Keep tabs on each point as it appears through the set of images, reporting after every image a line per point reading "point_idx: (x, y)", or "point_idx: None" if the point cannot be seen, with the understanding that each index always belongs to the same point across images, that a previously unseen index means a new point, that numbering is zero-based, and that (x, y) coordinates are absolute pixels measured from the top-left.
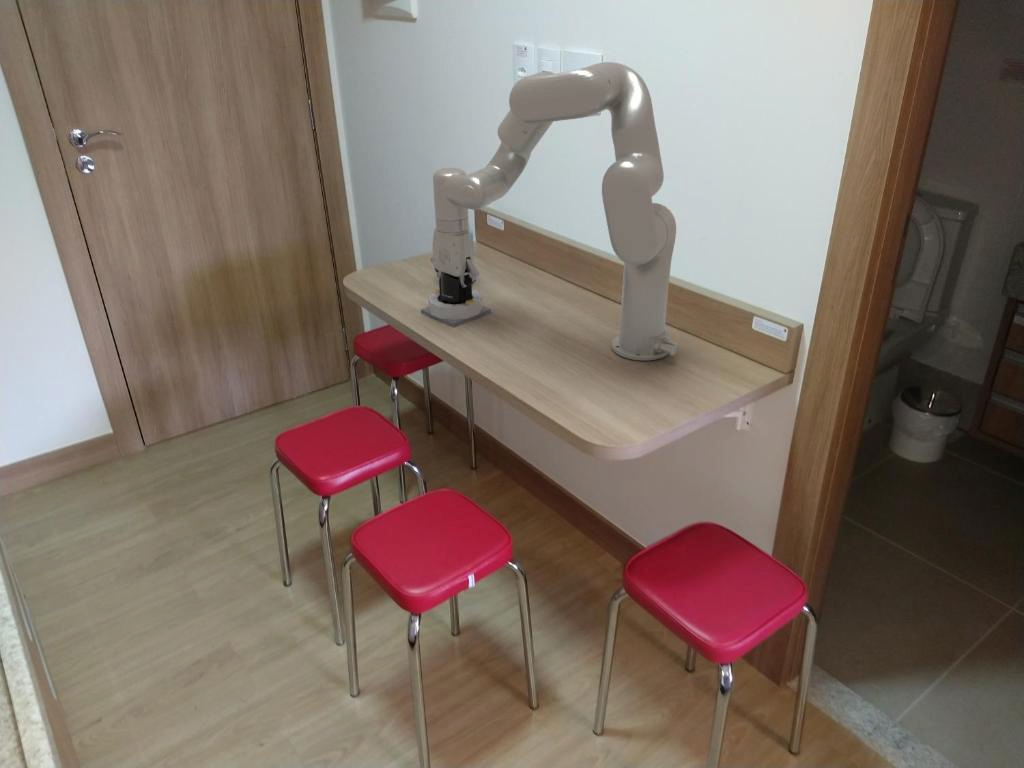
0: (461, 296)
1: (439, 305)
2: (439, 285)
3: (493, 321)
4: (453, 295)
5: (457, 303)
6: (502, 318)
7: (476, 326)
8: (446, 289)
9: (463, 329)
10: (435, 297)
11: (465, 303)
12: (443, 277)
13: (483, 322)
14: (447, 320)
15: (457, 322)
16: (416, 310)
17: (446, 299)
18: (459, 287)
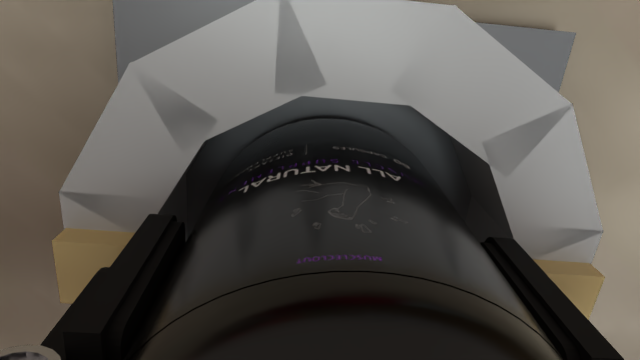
0: (131, 248)
1: (312, 14)
2: (561, 294)
3: (18, 260)
4: (223, 207)
5: (213, 192)
6: (22, 325)
7: (21, 125)
8: (316, 205)
9: (38, 13)
10: (506, 158)
11: None
12: (446, 355)
13: (50, 208)
14: (206, 2)
15: (115, 35)
16: (624, 52)
17: (321, 151)
18: (139, 332)
